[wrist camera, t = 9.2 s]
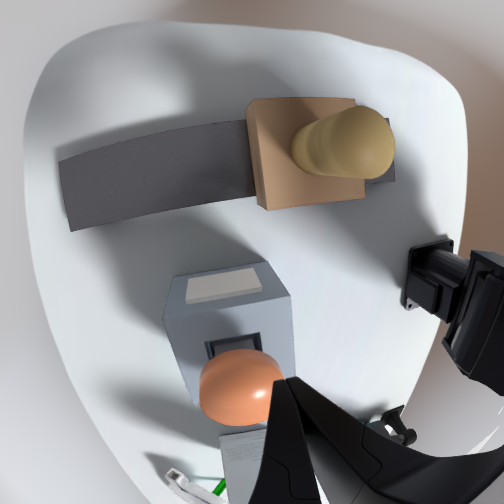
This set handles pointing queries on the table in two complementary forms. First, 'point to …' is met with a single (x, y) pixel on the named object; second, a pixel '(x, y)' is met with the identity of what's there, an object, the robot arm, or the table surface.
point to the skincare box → (241, 463)
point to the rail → (162, 174)
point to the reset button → (238, 384)
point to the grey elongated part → (194, 489)
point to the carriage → (315, 149)
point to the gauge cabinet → (228, 317)
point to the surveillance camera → (394, 427)
